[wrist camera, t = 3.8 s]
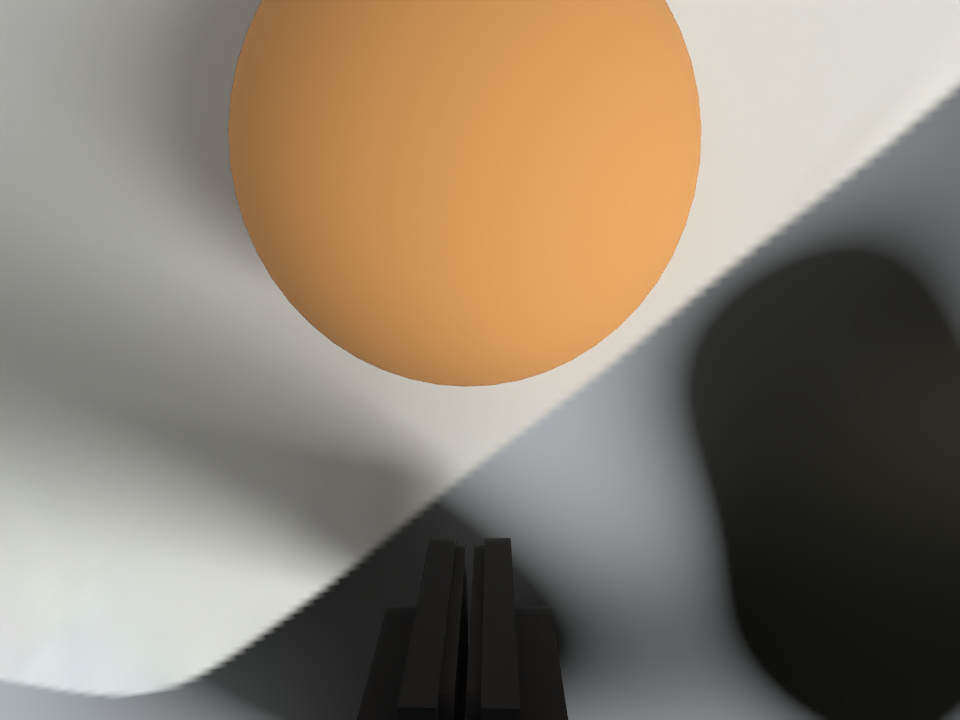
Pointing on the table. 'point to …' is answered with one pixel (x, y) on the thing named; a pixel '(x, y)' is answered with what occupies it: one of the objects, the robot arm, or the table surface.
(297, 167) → the ball
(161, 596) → the table surface
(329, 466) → the table surface
